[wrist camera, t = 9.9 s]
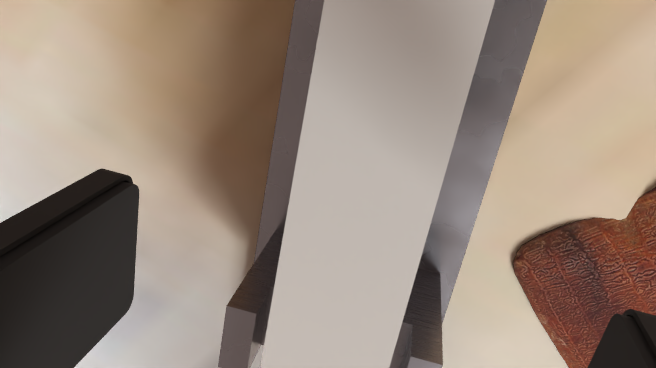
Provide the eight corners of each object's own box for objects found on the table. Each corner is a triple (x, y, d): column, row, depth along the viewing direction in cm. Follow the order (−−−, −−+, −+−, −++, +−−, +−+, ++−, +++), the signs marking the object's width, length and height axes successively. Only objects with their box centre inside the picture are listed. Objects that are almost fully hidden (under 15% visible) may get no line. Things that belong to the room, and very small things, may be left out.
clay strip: (527, -182, 15) (567, -254, 11) (366, 402, 24) (350, 503, 19) (390, -205, 16) (373, -283, 11) (278, 377, 24) (242, 470, 19)
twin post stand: (594, -169, 20) (689, -258, 13) (425, 360, 29) (423, 486, 22) (335, -213, 21) (283, -319, 14) (251, 312, 30) (192, 416, 23)
